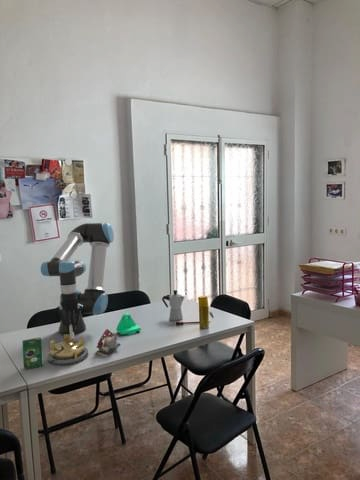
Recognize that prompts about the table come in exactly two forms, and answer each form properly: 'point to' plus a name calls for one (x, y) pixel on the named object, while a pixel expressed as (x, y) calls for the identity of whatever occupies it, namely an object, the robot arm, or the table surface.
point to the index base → (68, 361)
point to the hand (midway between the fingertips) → (72, 338)
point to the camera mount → (127, 325)
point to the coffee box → (32, 353)
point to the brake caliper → (108, 342)
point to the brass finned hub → (67, 348)
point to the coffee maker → (174, 305)
